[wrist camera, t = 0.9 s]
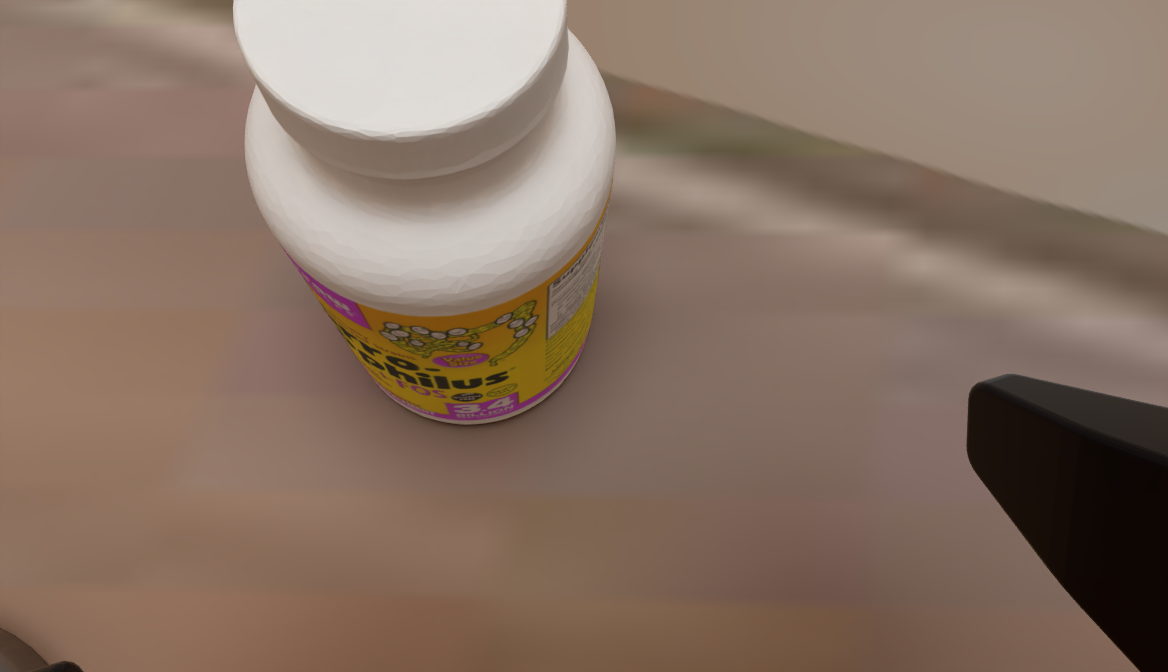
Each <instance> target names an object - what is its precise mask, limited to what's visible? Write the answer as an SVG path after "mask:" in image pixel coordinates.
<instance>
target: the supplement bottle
mask: <svg viewBox="0 0 1168 672" xmlns="http://www.w3.org/2000/svg"><path fill="white" fill-rule="evenodd" d="M233 20H234V27H235V33H236V39H237V42H238V45H239V48H240V51H241V53H242V56H243V59H244V61H245V63H246V65H247V67H248V69H249V71H250V73H251V75H252V77H253V79H254V80H255V82H256V87H255V90H254V93H253V96H252V99H251V102H250V105H249V110H248V115H247V121H246V127H245V158H246V166H247V172H248V178H249V181H250V185H251V189H252V192H253V194H254V197H255V200H256V203H257V205H258V207H259V209H260V212H261V213H262V215H263V217H264V219H265V221H266V223H267V225H268V227H269V228H270V230H271V231H272V233H273V234H274V236H275V237H276V239H277V240H278V242H279V243H280V245H281V246H282V248H283V249H284V251H285V252H286V253H287V255H288V256H289V258H290V259H291V261H292V262H293V264H294V265H295V266H296V268H297V269H298V271H299V272H300V273H301V275H302V276H303V278H304V279H305V281H306V282H307V284H308V285H309V287H310V288H311V290H312V291H313V293H314V294H315V296H316V297H317V299H318V300H319V302H320V303H321V305H322V306H323V308H324V310H325V311H326V312H327V314H328V315H329V317H330V318H331V320H332V321H333V322H334V324H335V325H336V327H337V328H338V330H339V331H340V333H341V334H342V336H343V337H344V339H345V340H346V342H347V343H348V345H349V346H350V348H351V349H352V351H353V352H354V354H355V355H356V357H357V358H358V359H359V361H360V362H361V364H362V365H363V367H364V368H365V370H366V371H367V372H368V374H369V375H370V376H371V377H372V379H373V380H374V381H375V383H376V384H377V385H378V386H379V387H380V388H381V389H382V390H383V391H384V392H385V393H386V394H387V395H388V396H390V397H391V398H392V399H393V400H394V401H396V402H397V403H399V404H400V405H402V406H403V407H405V408H407V409H409V410H410V411H412V412H415V413H417V414H419V415H421V416H424V417H427V418H430V419H434V420H438V421H442V422H447V423H454V424H483V423H489V422H494V421H500V420H503V419H507V418H509V417H512V416H515V415H517V414H520V413H522V412H524V411H526V410H528V409H530V408H532V407H533V406H535V405H537V404H538V403H540V402H541V401H543V400H544V399H545V398H546V397H548V396H549V395H550V394H551V393H552V392H554V391H555V390H556V389H557V388H558V387H559V386H560V385H561V383H562V382H563V381H564V380H565V379H566V377H567V376H568V375H569V374H570V372H571V371H572V369H573V367H574V366H575V364H576V363H577V361H578V359H579V357H580V354H581V352H582V350H583V347H584V345H585V342H586V339H587V336H588V333H589V329H590V325H591V320H592V315H593V309H594V302H595V296H596V288H597V282H598V276H599V268H600V261H601V254H602V247H603V239H604V233H605V227H606V220H607V214H608V207H609V202H610V195H611V188H612V182H613V173H614V164H615V154H616V132H615V123H614V116H613V109H612V105H611V102H610V99H609V95H608V92H607V89H606V87H605V84H604V81H603V79H602V77H601V75H600V73H599V71H598V69H597V67H596V65H595V63H594V62H593V60H592V58H591V57H590V55H589V54H588V52H587V51H586V50H585V48H584V47H583V45H582V44H581V43H580V42H579V41H578V39H577V38H576V37H575V36H574V35H573V34H572V32H571V31H570V30H569V29H568V28H567V0H234V5H233Z"/></svg>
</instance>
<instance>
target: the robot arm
mask: <svg viewBox="0 0 1168 672" xmlns="http://www.w3.org/2000/svg"><path fill="white" fill-rule="evenodd" d="M967 454H968V458H969V461H970V464H971V465H972V467H973V469H974V471H975V472H976V474H977V475H978V477H979V478H980V479H981V481H982V482H983V483H984V485H985V486H986V487H987V488H988V490H989V491H990V492H991V494H992V495H993V496H994V498H995V499H996V500H997V502H998V503H999V504H1000V506H1001V507H1002V508H1003V510H1004V511H1005V512H1006V514H1007V515H1008V516H1009V518H1010V519H1011V520H1012V522H1013V523H1014V524H1015V526H1016V527H1017V528H1018V530H1019V531H1020V532H1021V533H1022V535H1023V536H1024V537H1025V539H1026V540H1027V541H1028V543H1029V544H1030V545H1031V547H1032V548H1033V549H1034V551H1035V552H1036V553H1037V555H1038V556H1039V557H1040V559H1041V560H1042V561H1043V563H1044V564H1045V565H1046V567H1047V568H1048V569H1049V570H1050V572H1051V573H1052V574H1053V575H1054V577H1055V578H1056V579H1057V580H1058V581H1059V583H1060V584H1061V585H1062V586H1063V588H1064V589H1065V590H1066V591H1067V592H1068V593H1069V594H1070V596H1071V597H1072V598H1073V599H1074V600H1075V601H1076V602H1077V604H1078V605H1079V606H1080V607H1081V608H1082V609H1083V610H1084V611H1085V612H1086V613H1087V615H1088V616H1089V617H1090V618H1091V619H1092V620H1093V621H1094V622H1095V623H1096V624H1097V625H1098V626H1099V628H1100V629H1101V630H1102V631H1103V632H1104V633H1105V634H1106V635H1107V636H1108V637H1109V638H1110V639H1111V640H1112V642H1113V643H1114V644H1115V645H1116V646H1117V647H1118V648H1119V649H1120V650H1121V651H1122V652H1123V653H1124V655H1125V656H1126V657H1127V658H1128V659H1129V660H1130V661H1131V662H1132V663H1133V664H1134V665H1135V666H1136V668H1137V669H1138V670H1139V671H1140V672H1168V408H1166V407H1162V406H1157V405H1153V404H1148V403H1143V402H1139V401H1134V400H1130V399H1125V398H1121V397H1116V396H1112V395H1107V394H1103V393H1098V392H1094V391H1089V390H1085V389H1080V388H1076V387H1071V386H1067V385H1062V384H1057V383H1053V382H1048V381H1044V380H1039V379H1035V378H1030V377H1026V376H1021V375H1017V374H1005V375H1002V376H998V377H995V378H992V379H989V380H985V381H982V382H979V383H977V384H976V385H974V386H973V387H972V389H971V391H970V393H969V399H968V423H967ZM29 672H83V671H82V669H81V668H80V667H79V666H78V665H76V664H75V663H73V662H69V661H62V662H58V663H55V664H52V665H48V666H45V667H42V668H38V669H35V670H32V671H29Z"/></svg>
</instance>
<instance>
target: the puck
mask: <svg viewBox="0 0 1168 672" xmlns="http://www.w3.org/2000/svg"><path fill="white" fill-rule="evenodd" d="M45 666H48V665H47V663H46V662H45V661H44V660H43V659H42V658H41V657H40V656H39V655H38V654H37V653H36V652H35V651H34V650H33V649H32V648H31V647H29V646H28V645H26V644H25V643H24V642H22V641H21V640H20V639H18V638H17V637H15V636H14V635H12V634H10V633H9V632H7V631H5V630H3V629H1V628H0V672H29V671H32V670H35V669H38V668H42V667H45Z"/></svg>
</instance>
